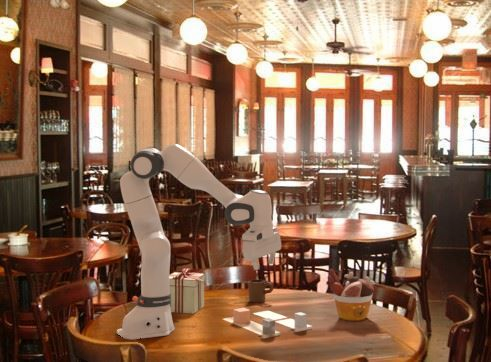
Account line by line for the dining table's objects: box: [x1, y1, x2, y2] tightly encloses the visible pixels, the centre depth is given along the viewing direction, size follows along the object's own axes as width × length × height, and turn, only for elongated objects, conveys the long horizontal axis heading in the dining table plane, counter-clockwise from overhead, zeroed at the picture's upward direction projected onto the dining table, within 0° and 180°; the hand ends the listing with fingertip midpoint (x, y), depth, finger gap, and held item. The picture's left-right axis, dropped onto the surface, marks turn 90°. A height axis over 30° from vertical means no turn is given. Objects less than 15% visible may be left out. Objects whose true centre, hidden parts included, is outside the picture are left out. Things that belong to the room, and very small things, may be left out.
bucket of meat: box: [327, 268, 376, 322], centre depth 277 cm, size 20×16×20 cm
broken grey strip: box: [253, 310, 313, 333], centre depth 271 cm, size 8×30×6 cm, turn 33°
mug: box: [248, 278, 274, 304], centre depth 308 cm, size 12×8×9 cm, turn 66°
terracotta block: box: [232, 307, 252, 324], centre depth 268 cm, size 5×5×5 cm
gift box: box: [169, 268, 206, 314], centre depth 297 cm, size 17×18×17 cm
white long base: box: [222, 316, 282, 339], centre depth 263 cm, size 8×30×6 cm, turn 33°
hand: (264, 266), depth 260 cm, fingers open, 8 cm apart
